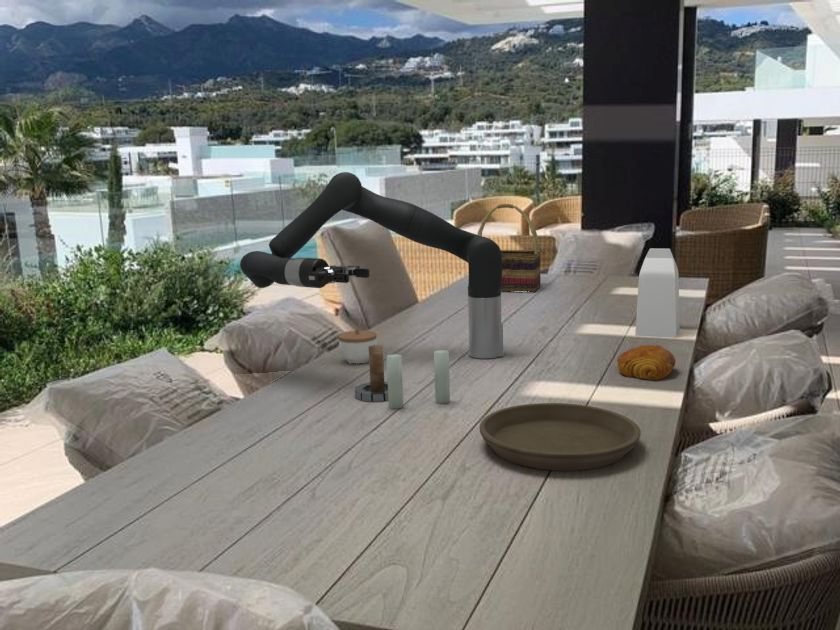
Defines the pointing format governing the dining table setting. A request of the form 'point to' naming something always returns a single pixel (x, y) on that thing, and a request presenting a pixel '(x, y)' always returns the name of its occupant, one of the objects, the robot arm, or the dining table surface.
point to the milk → (658, 296)
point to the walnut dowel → (376, 368)
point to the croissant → (646, 362)
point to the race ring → (370, 393)
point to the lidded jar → (356, 345)
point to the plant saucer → (559, 435)
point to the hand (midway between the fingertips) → (358, 275)
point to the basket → (519, 261)
